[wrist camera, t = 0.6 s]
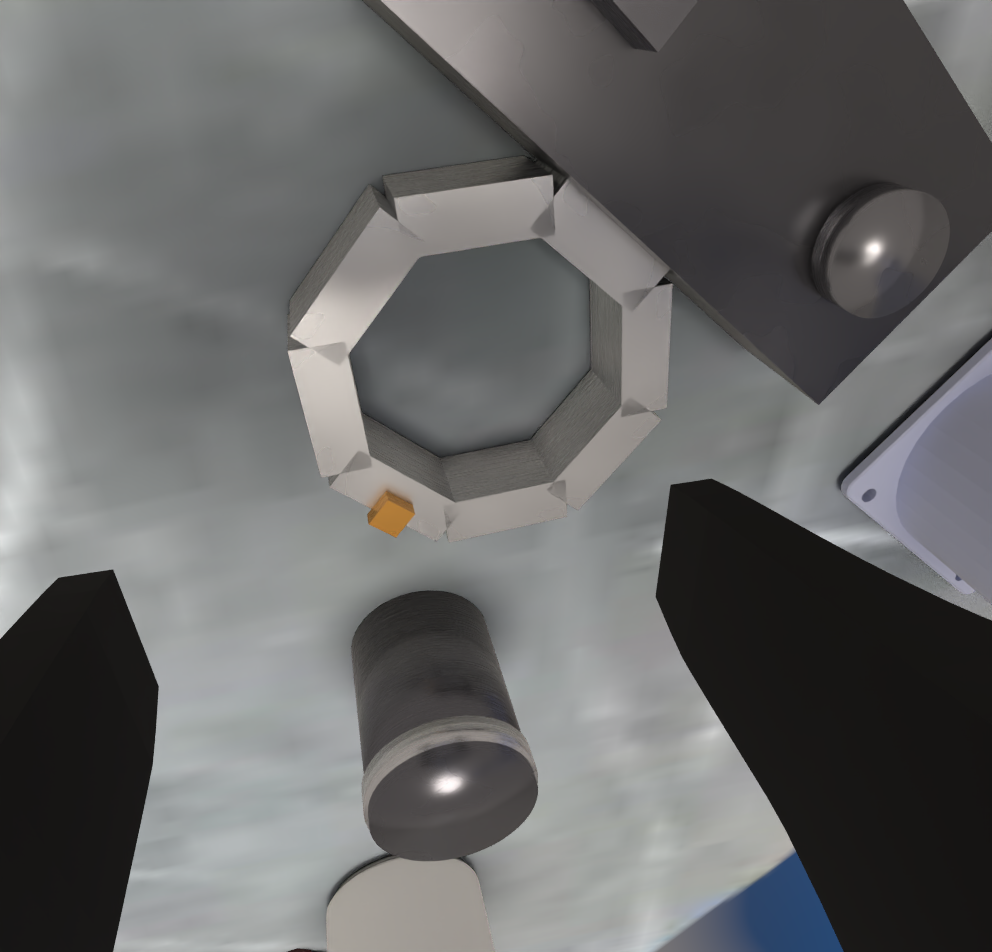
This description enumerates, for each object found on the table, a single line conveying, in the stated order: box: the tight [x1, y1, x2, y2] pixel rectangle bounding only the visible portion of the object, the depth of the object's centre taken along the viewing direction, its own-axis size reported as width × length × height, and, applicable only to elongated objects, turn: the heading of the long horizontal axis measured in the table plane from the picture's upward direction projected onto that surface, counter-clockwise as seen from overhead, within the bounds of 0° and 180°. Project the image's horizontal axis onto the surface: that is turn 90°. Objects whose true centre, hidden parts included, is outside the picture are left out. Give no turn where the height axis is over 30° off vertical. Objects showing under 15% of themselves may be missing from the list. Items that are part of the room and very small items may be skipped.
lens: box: [351, 591, 538, 861], centre depth 21 cm, size 5×5×6 cm
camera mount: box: [287, 0, 992, 543], centre depth 16 cm, size 13×15×4 cm
